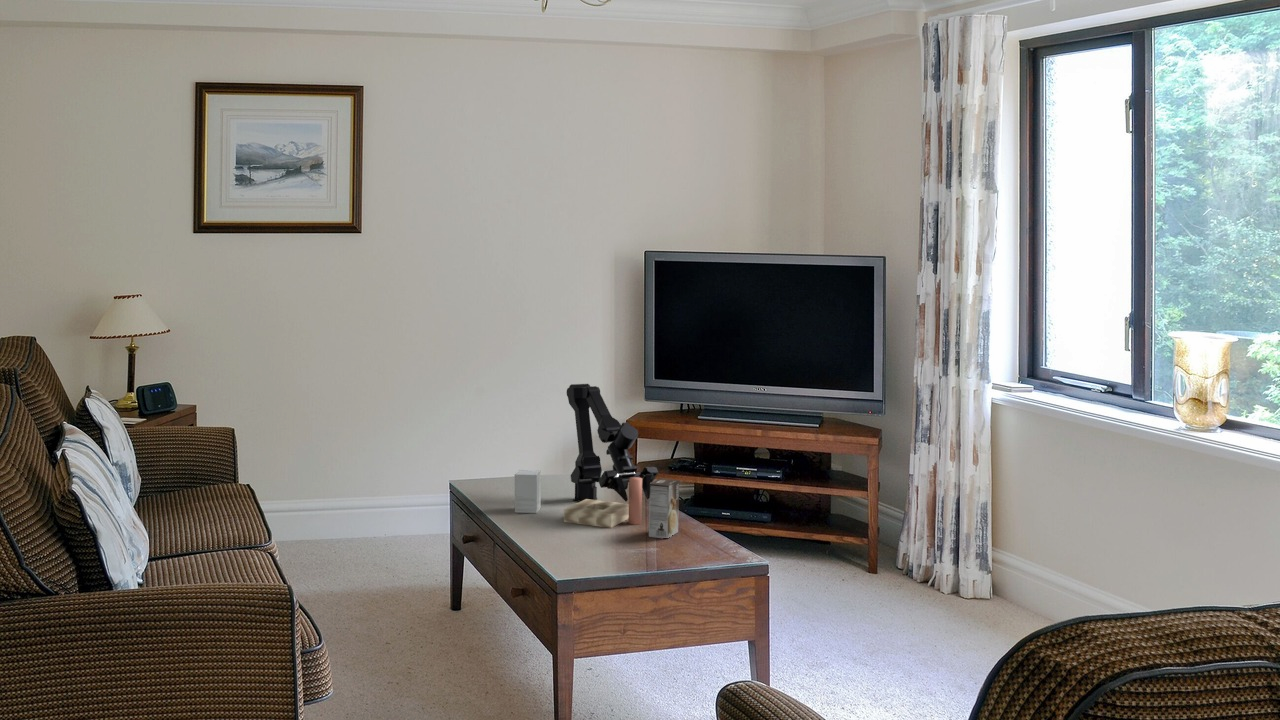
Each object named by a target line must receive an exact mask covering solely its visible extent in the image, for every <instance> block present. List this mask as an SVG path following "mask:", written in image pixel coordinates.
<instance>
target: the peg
mask: <svg viewBox="0 0 1280 720" xmlns="http://www.w3.org/2000/svg"><path fill="white" fill-rule="evenodd" d="M628 504H629V518H628V519H627V520H628V521H627V522H628V524H629V525H634V526H635V525H636V526H637V525H641V524H642V509H643V508H642V506H643V488H642V478H640V477H631V478H629V483H628Z"/></svg>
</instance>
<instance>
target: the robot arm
mask: <svg viewBox="0 0 1280 720" xmlns="http://www.w3.org/2000/svg"><path fill="white" fill-rule="evenodd" d="M566 396H567V399H568V404H569V405H570V407H571V409H572V410H573V411H574V417H575V425H576V437H577V446H578V455H577V457H576V459H575V461H574V463H575V465H574V467H575V468H574V469H573V471H572V472H571V474H570V482H572V483H573V484H574V498H572V501H575V502H581V501H583V500H585V499H591V500H598V497H597V493H598V492H597V491H598V490H597V489H598V487H597V484H596V483H598V484H599V486H600V488H601V489H602V488H603V489H604V488H606V489H608V490H609V489H610V490H613V491H614V492H615V493H617V495H619V497H621V498H622V500H624V501H625V502H628V501H629V497H628V494H627V490H628V489H629V478H631V477H640V478H642V492H643V493H644V495H645V498H646V499H647V500H649V494H650V484H651V483H653V482H654V481H655V479H656V478H657V476H658V474H659V471H658V468H657V467H656V466H645V467H643V469H642V471H638V472H637V470H638V466H637V465H634V463H633V459H634V456H633V454H630V453H629V449H631V448H632V447H633V444H634V443H635V441H636V440H637V438H638V436H639V431H638V429H636V428H635V427H634V426H632V425H631V424H630V423H629V422H622V423H620V421H619V420H617V419H616V418H614V417H613V416H612V414H611V412H610V410H609V409H608V406H607V404H606V403H605V401H604V398H603V396H602V393H601V390H600V387H599V386H597V385H595V386H594V385H593V386H592V385H590V384H589V383H574V384H572V383H571V384H570V385H569V386H568V387H567V389H566ZM590 410H591V413H592V415H593V416H594V418H595V421H596V422H597V425H598V427H597V430H596V431H597V434H598V438H599V440H600V442H601V443H604V444H606V443H610V444H609V445H607V449H606V455H610V458H611V460H612V463H613V465H612V470H610V469H609V470H608V469H607V470H604V471H603V473H602V464H601V458H600V455H597V454H596V453H595V452H594V444H593V435H592V433H593V432H592V426H591V416H590Z"/></svg>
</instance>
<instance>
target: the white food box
mask: <svg viewBox="0 0 1280 720" xmlns="http://www.w3.org/2000/svg"><path fill="white" fill-rule="evenodd" d="M648 500H649V501H648V504H649V505H648V506H649V507H648V511H649V512H648V537H649V538H655V539H656V538H657V539H663V538H669V537H670V538H672V537H673V536H674V535H676V534H677V533H678V532H679V515H680V513H679V511H680V510H679V507H680V501H679V500H680V479H669V478H657V480H654V481H653V482H652V483H650V494H649V499H648ZM672 535H673V536H672ZM670 538H669V539H670Z"/></svg>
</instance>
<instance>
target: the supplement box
mask: <svg viewBox="0 0 1280 720" xmlns="http://www.w3.org/2000/svg"><path fill="white" fill-rule="evenodd" d="M541 476H542V475H541V470H534V469H532V470H531V469H519V470H518V471H517V472H515V473H514V513H519V514H520V513H523V514H537V513H538V512H539V511H540V510H541V502H542V501H541V480H542V479H541Z"/></svg>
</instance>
